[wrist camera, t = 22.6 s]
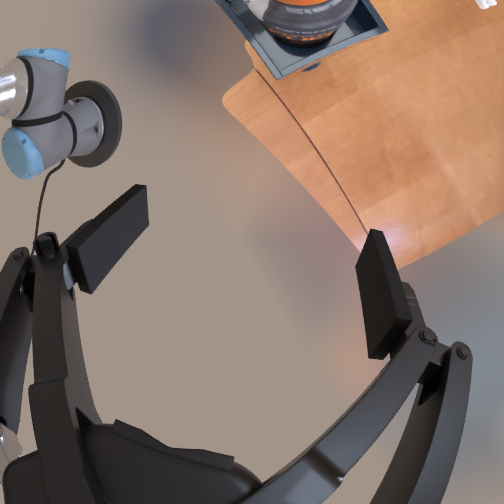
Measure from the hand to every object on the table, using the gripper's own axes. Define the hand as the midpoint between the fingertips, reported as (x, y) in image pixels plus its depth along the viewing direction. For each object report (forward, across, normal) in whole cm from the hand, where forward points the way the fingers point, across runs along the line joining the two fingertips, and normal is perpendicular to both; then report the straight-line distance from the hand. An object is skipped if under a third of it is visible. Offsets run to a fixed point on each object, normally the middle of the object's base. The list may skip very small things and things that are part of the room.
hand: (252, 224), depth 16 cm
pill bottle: (+9, 0, -14) cm, 17 cm away
